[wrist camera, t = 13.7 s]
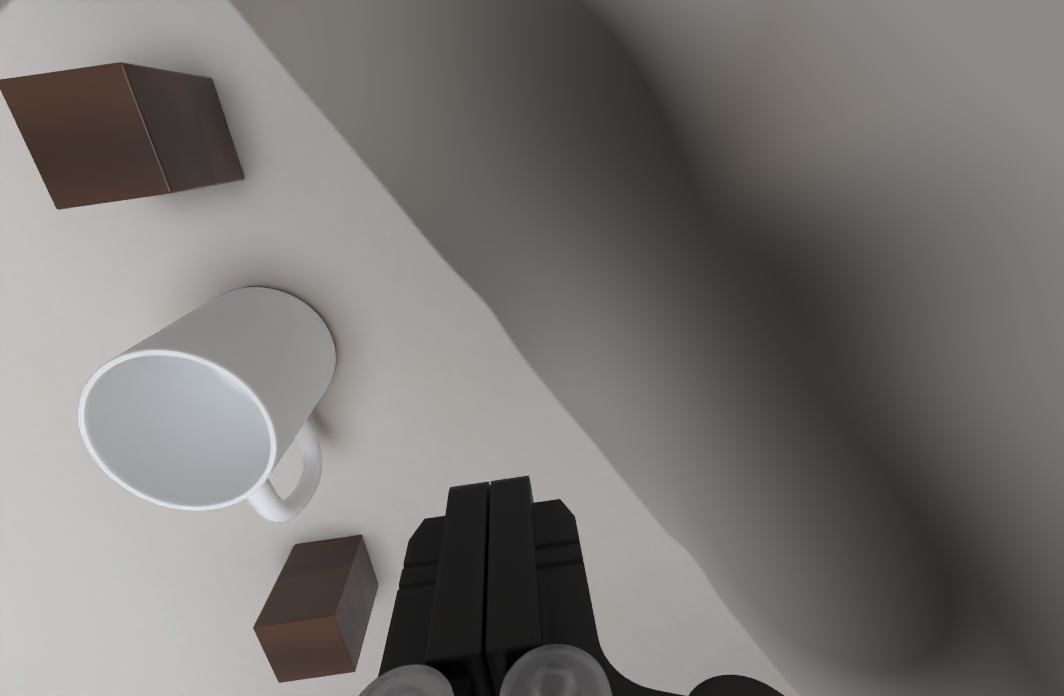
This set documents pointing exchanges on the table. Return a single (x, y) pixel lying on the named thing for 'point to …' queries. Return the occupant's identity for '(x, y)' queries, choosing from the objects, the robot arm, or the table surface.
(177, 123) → the block near
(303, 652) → the block far
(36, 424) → the table surface
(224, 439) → the cup
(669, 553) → the table surface
